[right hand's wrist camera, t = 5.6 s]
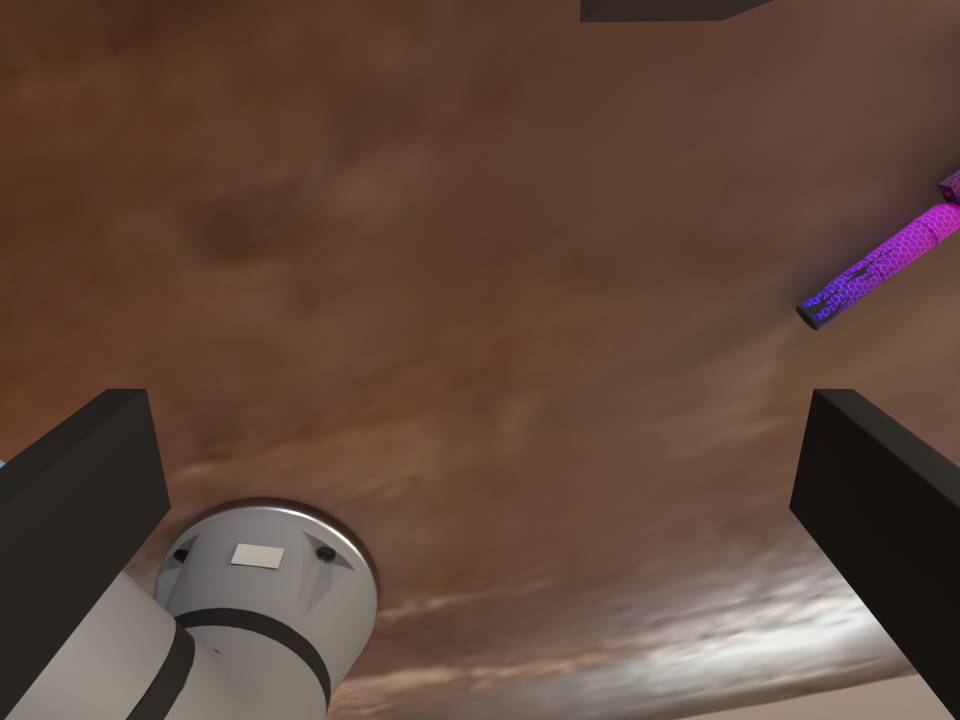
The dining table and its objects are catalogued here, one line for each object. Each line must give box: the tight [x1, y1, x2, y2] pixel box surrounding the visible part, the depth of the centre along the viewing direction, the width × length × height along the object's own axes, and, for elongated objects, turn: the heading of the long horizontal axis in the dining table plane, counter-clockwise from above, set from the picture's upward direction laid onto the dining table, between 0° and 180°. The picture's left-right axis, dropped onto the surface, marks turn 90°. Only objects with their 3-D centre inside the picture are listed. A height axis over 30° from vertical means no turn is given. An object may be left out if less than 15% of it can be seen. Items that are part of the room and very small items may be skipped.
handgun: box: [796, 169, 960, 330], centre depth 35 cm, size 21×8×2 cm, turn 132°
